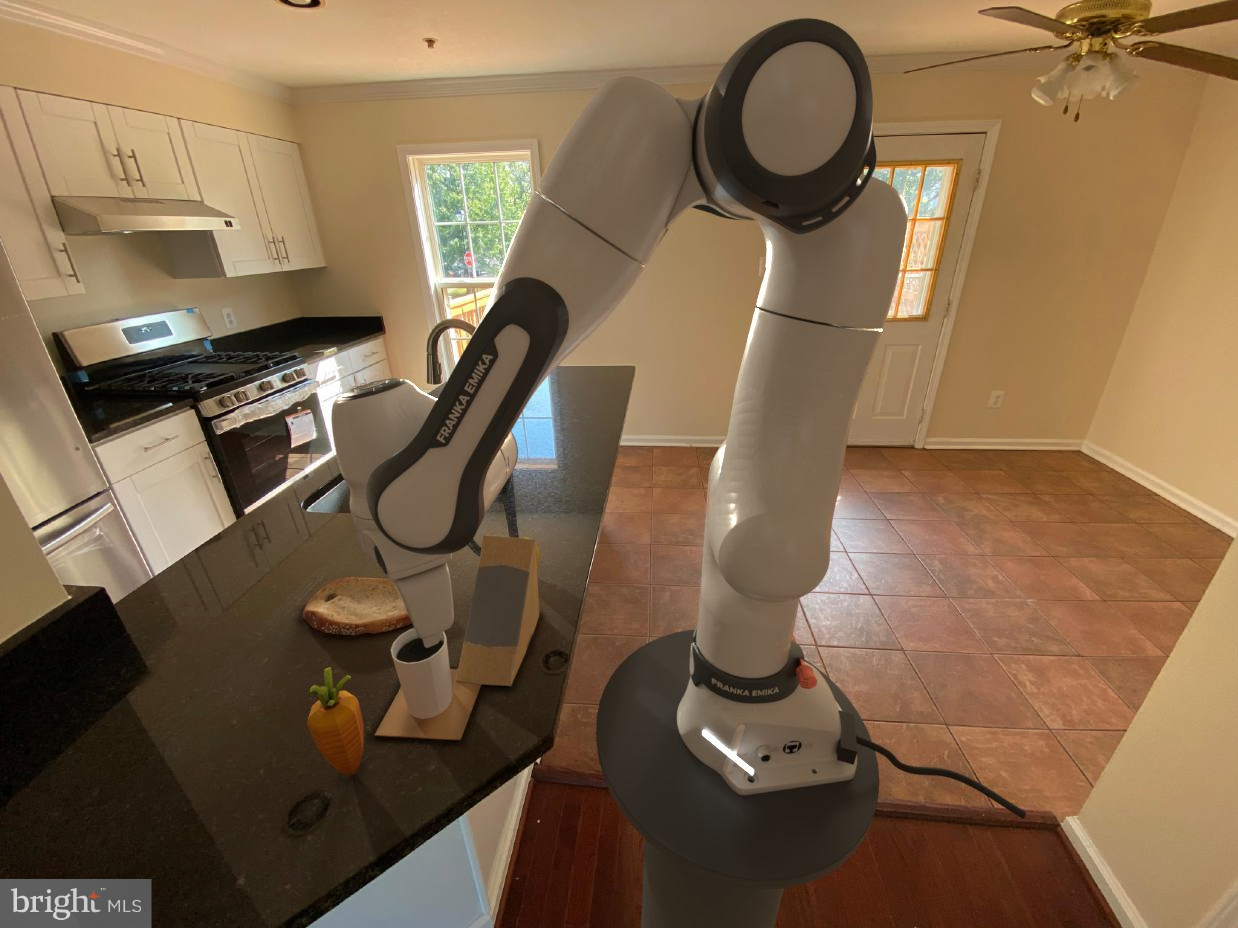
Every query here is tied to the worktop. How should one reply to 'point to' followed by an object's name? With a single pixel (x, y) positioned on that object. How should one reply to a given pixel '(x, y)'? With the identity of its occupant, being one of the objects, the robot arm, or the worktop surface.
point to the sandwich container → (500, 611)
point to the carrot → (337, 725)
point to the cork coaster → (437, 727)
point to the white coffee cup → (423, 674)
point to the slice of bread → (356, 607)
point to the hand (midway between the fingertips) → (419, 619)
